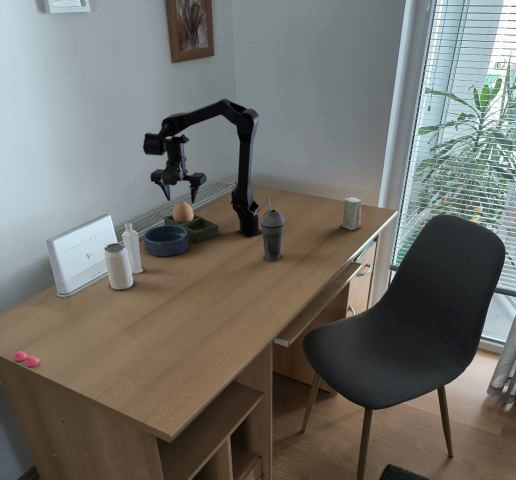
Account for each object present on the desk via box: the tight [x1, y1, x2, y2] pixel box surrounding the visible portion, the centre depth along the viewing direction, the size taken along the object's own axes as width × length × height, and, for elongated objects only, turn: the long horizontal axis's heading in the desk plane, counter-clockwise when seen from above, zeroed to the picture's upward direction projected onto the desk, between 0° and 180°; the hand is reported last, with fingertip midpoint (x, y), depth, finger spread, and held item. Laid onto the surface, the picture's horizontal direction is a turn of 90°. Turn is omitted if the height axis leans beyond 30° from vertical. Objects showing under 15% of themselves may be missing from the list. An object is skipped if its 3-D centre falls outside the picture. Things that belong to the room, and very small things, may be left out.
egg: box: [172, 201, 194, 224], centre depth 177 cm, size 7×7×8 cm
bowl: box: [142, 224, 189, 257], centre depth 165 cm, size 14×14×5 cm
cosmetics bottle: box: [341, 196, 363, 231], centre depth 175 cm, size 5×4×10 cm
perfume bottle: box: [121, 222, 144, 274], centre depth 149 cm, size 5×4×15 cm
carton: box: [163, 213, 220, 243], centre depth 176 cm, size 19×10×4 cm, turn 43°
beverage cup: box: [260, 195, 285, 262], centre depth 153 cm, size 7×7×20 cm
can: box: [103, 242, 134, 291], centre depth 142 cm, size 6×6×12 cm
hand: (180, 201), depth 175 cm, fingers open, 9 cm apart
